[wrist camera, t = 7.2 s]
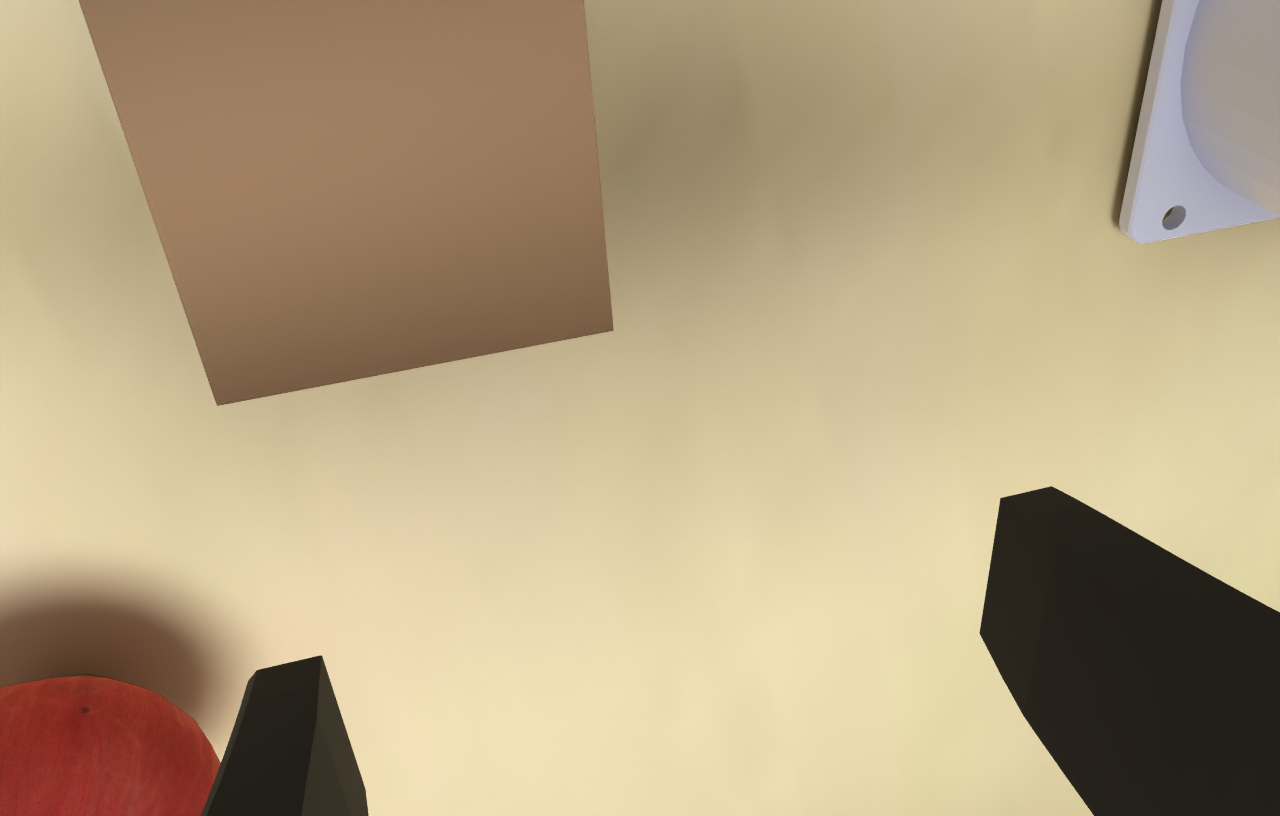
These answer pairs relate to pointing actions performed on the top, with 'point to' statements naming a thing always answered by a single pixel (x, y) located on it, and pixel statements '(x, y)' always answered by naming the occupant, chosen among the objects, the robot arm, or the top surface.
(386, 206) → the wooden block
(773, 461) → the top surface
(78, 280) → the top surface
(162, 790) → the onion
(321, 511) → the top surface
